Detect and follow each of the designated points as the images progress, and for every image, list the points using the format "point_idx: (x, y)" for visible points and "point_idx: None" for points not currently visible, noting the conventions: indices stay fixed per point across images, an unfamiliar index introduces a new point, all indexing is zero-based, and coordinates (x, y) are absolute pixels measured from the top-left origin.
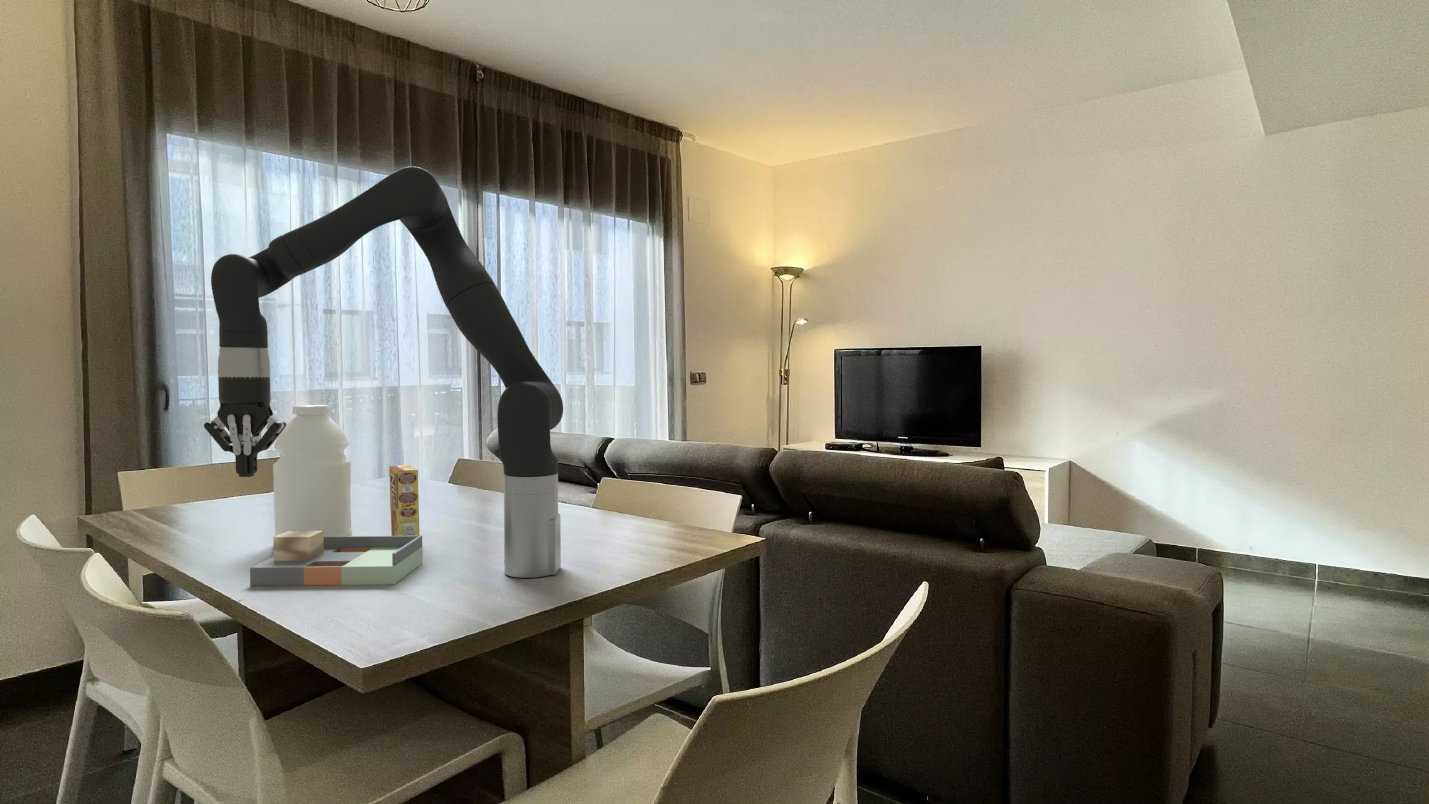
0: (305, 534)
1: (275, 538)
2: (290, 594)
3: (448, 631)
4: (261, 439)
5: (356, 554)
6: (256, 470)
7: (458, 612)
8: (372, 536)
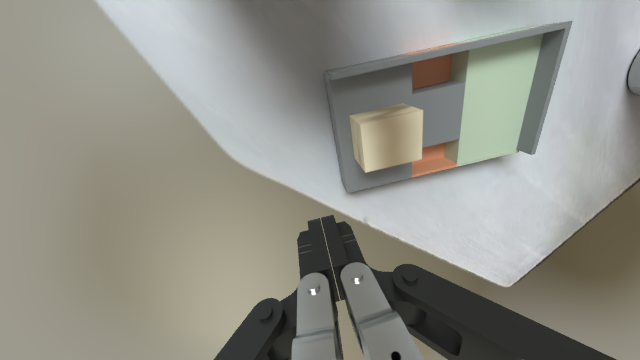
0: (406, 145)
1: (367, 170)
2: (403, 196)
3: (552, 239)
4: (446, 352)
5: (455, 102)
6: (349, 227)
7: (561, 206)
8: (483, 45)
